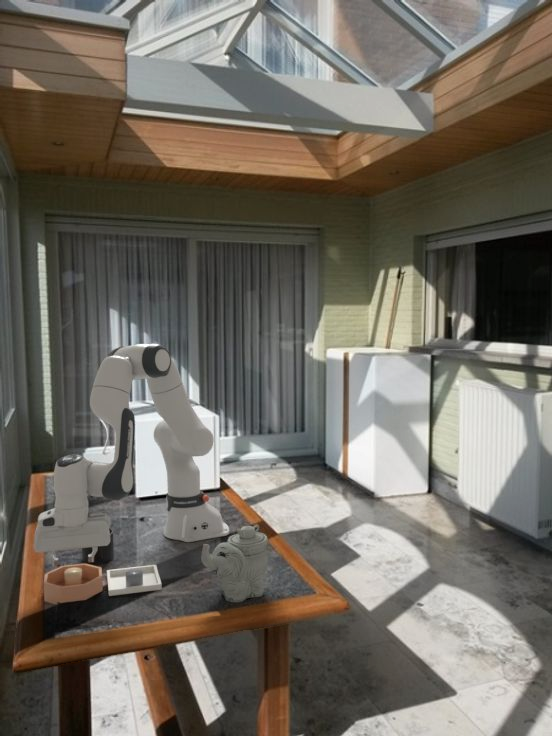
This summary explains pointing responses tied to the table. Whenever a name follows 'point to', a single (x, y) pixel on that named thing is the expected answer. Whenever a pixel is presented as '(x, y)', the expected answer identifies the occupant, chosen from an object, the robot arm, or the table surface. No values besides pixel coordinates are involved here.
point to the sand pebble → (73, 576)
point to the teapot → (239, 563)
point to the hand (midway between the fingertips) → (73, 563)
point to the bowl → (61, 593)
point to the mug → (100, 552)
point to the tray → (118, 586)
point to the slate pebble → (134, 578)
